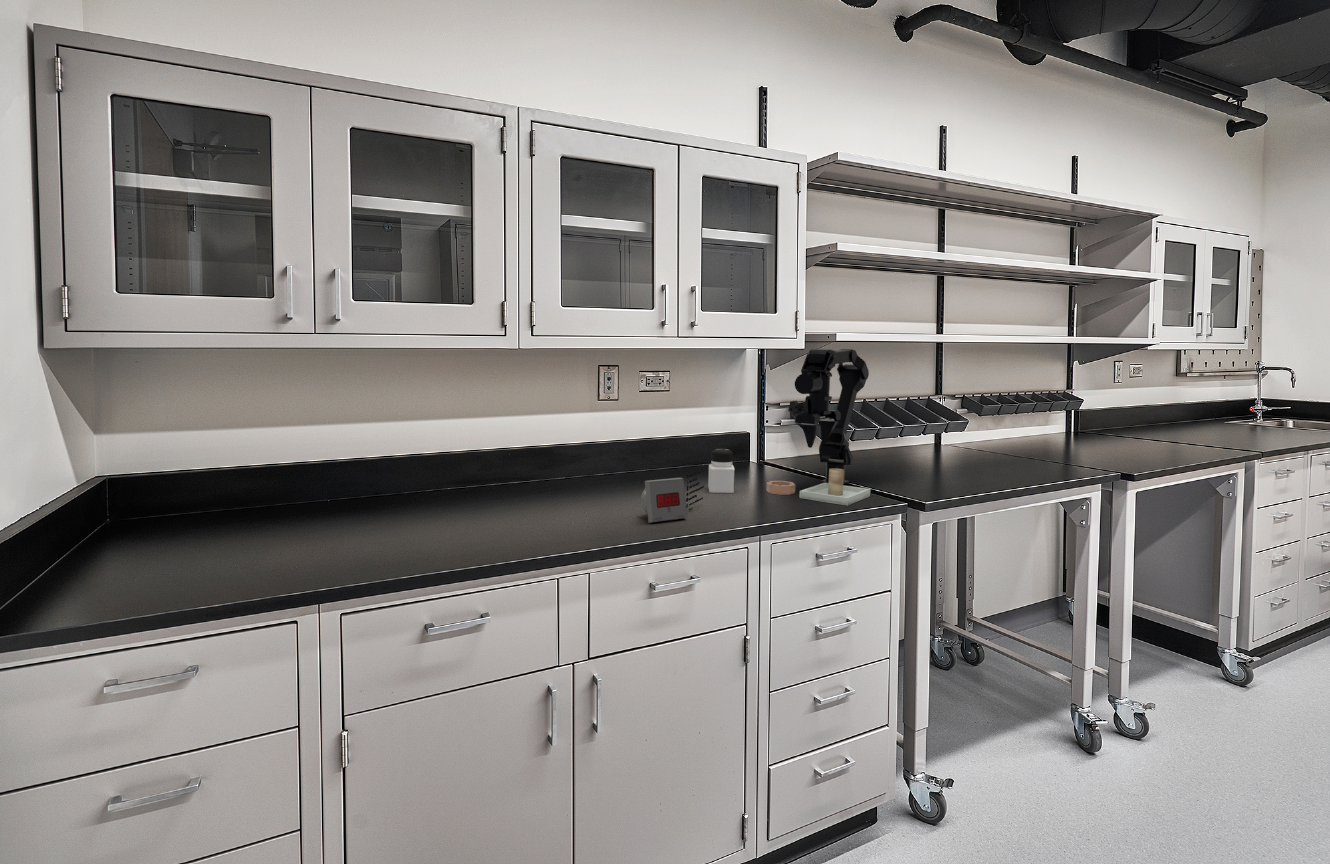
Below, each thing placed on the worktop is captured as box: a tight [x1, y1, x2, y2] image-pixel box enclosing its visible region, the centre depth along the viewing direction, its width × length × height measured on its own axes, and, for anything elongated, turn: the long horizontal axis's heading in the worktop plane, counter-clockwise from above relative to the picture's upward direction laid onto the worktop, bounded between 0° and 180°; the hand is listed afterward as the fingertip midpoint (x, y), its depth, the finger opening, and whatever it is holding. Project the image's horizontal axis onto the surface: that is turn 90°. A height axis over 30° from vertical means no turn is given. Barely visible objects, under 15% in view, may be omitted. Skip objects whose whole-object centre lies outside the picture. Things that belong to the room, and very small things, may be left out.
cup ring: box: [765, 480, 796, 496], centre depth 202 cm, size 8×8×2 cm
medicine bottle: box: [707, 448, 736, 494], centre depth 202 cm, size 7×7×12 cm
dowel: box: [828, 468, 844, 496], centre depth 195 cm, size 4×4×7 cm
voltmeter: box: [640, 468, 706, 524], centre depth 174 cm, size 27×11×10 cm, turn 155°
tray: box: [799, 482, 871, 507], centre depth 196 cm, size 16×14×2 cm
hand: (817, 445), depth 204 cm, fingers open, 9 cm apart
